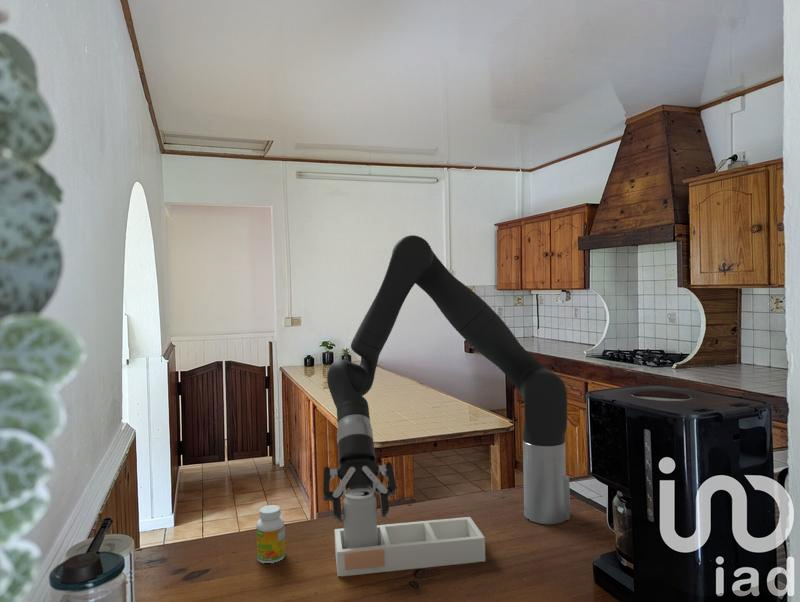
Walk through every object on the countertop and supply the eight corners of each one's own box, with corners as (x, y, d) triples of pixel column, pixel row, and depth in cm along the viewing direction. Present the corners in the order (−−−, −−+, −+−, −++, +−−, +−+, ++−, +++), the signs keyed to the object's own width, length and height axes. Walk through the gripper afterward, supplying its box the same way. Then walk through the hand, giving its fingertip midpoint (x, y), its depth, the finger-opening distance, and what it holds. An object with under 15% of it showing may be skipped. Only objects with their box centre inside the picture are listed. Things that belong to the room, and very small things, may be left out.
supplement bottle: (251, 562, 108) (250, 512, 108) (267, 549, 113) (265, 502, 113) (275, 566, 106) (274, 515, 106) (290, 553, 111) (289, 505, 111)
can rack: (470, 538, 116) (470, 516, 116) (486, 562, 106) (485, 538, 106) (335, 551, 111) (334, 529, 111) (337, 577, 101) (337, 553, 101)
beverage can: (376, 562, 104) (375, 498, 104) (342, 562, 104) (341, 499, 104) (378, 546, 111) (377, 486, 110) (346, 546, 111) (344, 486, 110)
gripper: (321, 434, 113) (324, 512, 102) (390, 430, 116) (400, 505, 104) (321, 453, 119) (324, 529, 108) (387, 448, 121) (397, 522, 110)
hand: (362, 517), depth 106 cm, fingers open, 8 cm apart
